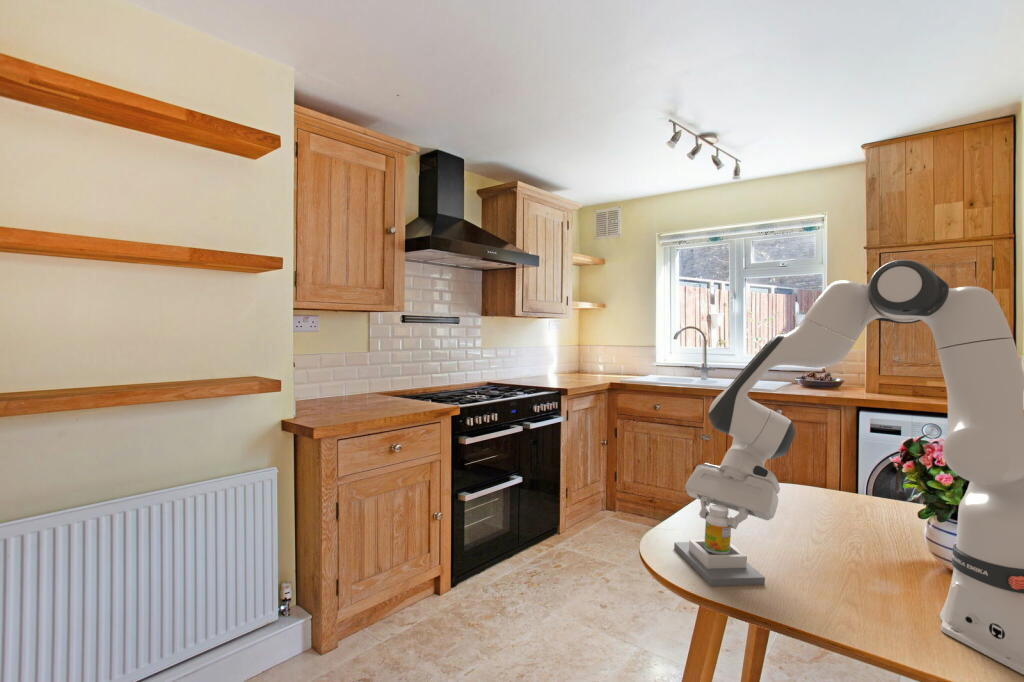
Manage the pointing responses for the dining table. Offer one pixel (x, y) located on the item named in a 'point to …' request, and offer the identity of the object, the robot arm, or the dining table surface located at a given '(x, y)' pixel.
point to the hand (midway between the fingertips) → (716, 522)
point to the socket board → (719, 565)
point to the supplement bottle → (717, 530)
